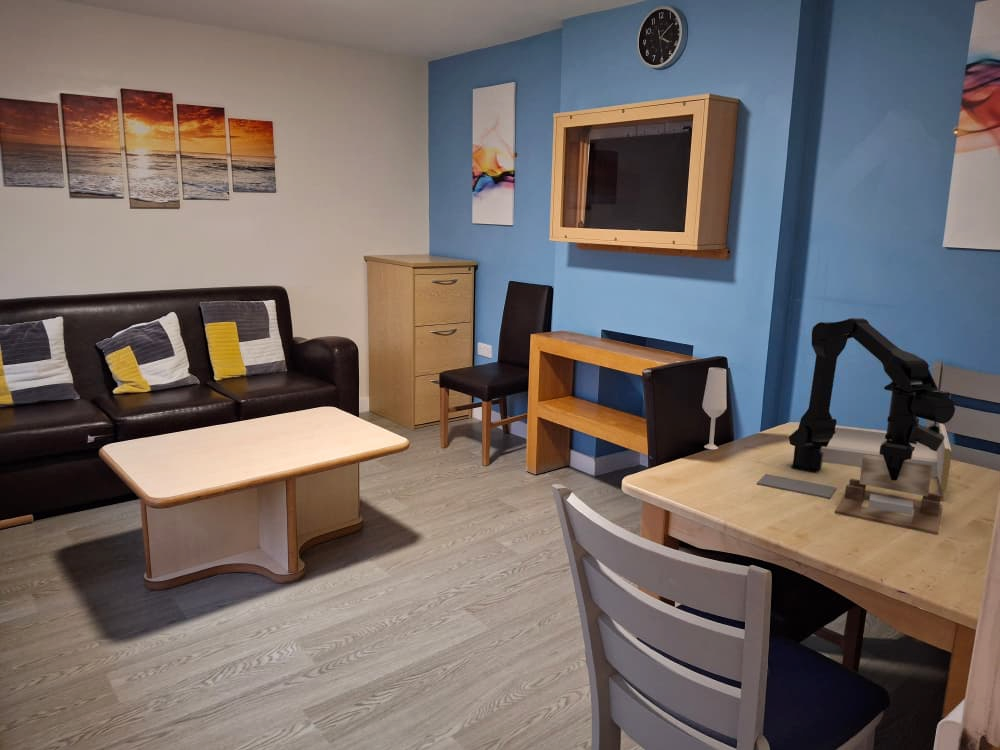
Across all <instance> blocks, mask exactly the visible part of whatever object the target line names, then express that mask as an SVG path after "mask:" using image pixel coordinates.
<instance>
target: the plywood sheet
mask: <svg viewBox="0 0 1000 750" xmlns="http://www.w3.org/2000/svg"><path fill="white" fill-rule="evenodd" d="M931 472H932V466H931V465H925V464H919V463H913V462H907V461H904V462H903V465H902V467H901V470H900V473H899V476H898V478H897V480H896V481H895V480H891V477H890V474H889V471H888V468H887V465H886V462H885V459H884V458H883V457H877V456H871V455H865V454H864V456H863V459H862V467H860V476H859V477H860V478H859V480H860V483H859V484H863V485H866V486H869V487H875V488H879V489H886V490H891V491H896V492H902V493H907V494H912V495H916V496H922V497H923V496H927V497H928V493H930V492H929V491H930V485H931V478H932V477H931Z"/></svg>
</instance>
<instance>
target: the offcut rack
mask: <svg viewBox="0 0 1000 750" xmlns="http://www.w3.org/2000/svg"><path fill="white" fill-rule="evenodd" d="M859 483H860V479H856V478H850V479H849V484H846V486H845V492H844V494H843V496H842V498H841V499H840V501H839V503H838V504H837V506H836V508H835V510H834V514H838V515H842V516H848V517H852V518H857V519H862V520H866V521H872V522H876V523H881V524H886V525H890V526H895V527H901V528H905V529H909V530H914V531H920V532H922V533H923V532H924V533H929V534H933V535H939V529H940V522H941V515H942V510H943V504H941V498H942V494H937V493H932V492H929V493H928V497H927V496H922V499H921V500H919V499H914V498H908V497H903V496H898V495H893V494H892V495H891V494H888V493H882V492H876V491H872V490H866V487H867V485H863V484H859ZM870 494H874V495H880V496H886V497H891V498H897V499H903V500H909V501H913V509H914V516H913V520H912V524H909V523H904V522H899V521H894V520H889V519H884V518H879V517H875V516H870V515H865V514H860V512H861V505H862V503H863V501H864V500H870Z"/></svg>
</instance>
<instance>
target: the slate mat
mask: <svg viewBox="0 0 1000 750" xmlns="http://www.w3.org/2000/svg"><path fill="white" fill-rule="evenodd" d="M756 485H757V486H758V485H759V486H762V487H763V486H764V487H768V488H774V489H779V490H783V491H788V492H793V493H799V494H803V495H804V494H805V495H809V496H814V497H818V498H823V499H828V500H830V499H831V498H832V496H833V495H834V493H835V492H836V490H837V487H836V486H832V485H826V484H820V483H816V482H812V481H805V480H801V479H794V478H790V477H784V476H778V475H774V474H768V473H765V474H764V475H763V476H762V477H761V478H760V479H759V480H758V481H757V482H756Z"/></svg>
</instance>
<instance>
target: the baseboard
mask: <svg viewBox="0 0 1000 750" xmlns="http://www.w3.org/2000/svg"><path fill="white" fill-rule="evenodd" d="M934 425H938V427H940V434H943V436H944V440H943V442H942V444H941V445H940V447H939V448H938V456H937V458H938V464H937V472H938V478H937V479H938V483H939V487H940V489H941V492H944V493H945V492H947V487H948V481H949V473H950V466H951V460H952V458H951V456H952V454H953V453H952V452H953V451H952V448H951V443H950V440H949V439H950V438H949V436H948V433H947V429H946V428H947V427H946V426H945V424H942V423H938V422H934Z"/></svg>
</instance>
